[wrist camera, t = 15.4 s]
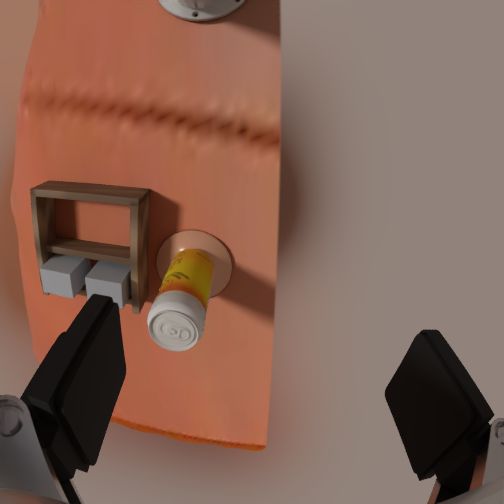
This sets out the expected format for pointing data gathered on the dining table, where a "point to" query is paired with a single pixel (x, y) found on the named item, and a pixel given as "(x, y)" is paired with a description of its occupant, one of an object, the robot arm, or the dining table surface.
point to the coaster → (200, 242)
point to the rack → (52, 244)
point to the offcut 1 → (64, 274)
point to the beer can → (182, 301)
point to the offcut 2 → (110, 281)
